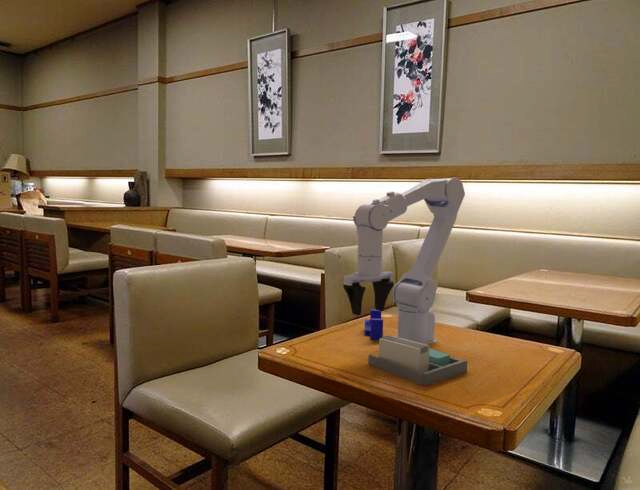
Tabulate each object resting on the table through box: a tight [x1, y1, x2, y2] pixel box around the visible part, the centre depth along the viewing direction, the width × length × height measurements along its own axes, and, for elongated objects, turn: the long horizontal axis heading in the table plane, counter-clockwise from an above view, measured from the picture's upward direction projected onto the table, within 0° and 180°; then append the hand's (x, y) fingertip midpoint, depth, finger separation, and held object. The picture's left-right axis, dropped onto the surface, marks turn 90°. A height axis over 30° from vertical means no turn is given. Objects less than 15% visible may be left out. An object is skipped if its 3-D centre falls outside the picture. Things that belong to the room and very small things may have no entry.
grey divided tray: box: [367, 354, 468, 387], centre depth 104 cm, size 14×16×3 cm
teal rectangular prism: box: [429, 348, 451, 367], centre depth 106 cm, size 4×10×3 cm, turn 39°
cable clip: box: [364, 308, 384, 341], centre depth 130 cm, size 12×4×6 cm, turn 175°
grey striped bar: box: [378, 335, 430, 373], centre depth 103 cm, size 4×10×6 cm, turn 46°
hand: (368, 312), depth 115 cm, fingers open, 7 cm apart
